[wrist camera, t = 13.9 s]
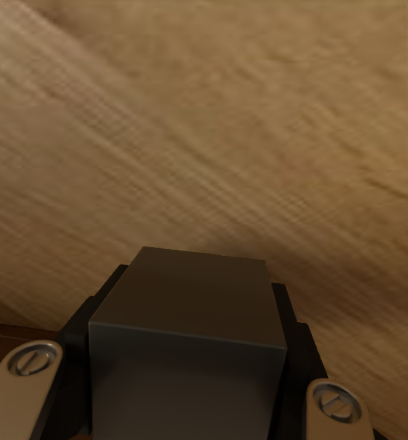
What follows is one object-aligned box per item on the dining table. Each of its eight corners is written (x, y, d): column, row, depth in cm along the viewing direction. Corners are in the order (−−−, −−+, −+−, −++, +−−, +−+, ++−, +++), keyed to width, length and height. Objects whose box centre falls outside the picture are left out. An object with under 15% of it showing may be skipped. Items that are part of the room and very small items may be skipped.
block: (249, 360, 12) (259, 488, 8) (140, 345, 12) (92, 462, 8) (266, 259, 11) (288, 348, 6) (142, 245, 11) (86, 321, 7)
